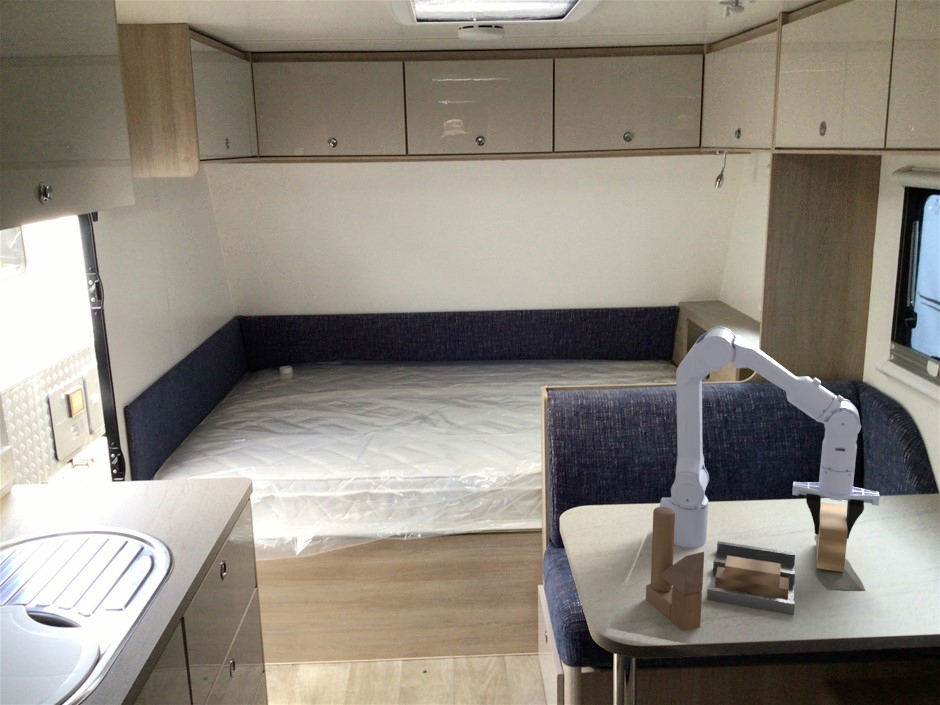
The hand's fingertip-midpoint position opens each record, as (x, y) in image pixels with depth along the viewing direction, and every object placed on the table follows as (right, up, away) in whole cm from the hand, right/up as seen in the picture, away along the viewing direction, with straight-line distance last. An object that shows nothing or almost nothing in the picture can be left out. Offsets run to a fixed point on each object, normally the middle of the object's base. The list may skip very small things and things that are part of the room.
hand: (831, 534), depth 149 cm
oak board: (0, -4, +1) cm, 5 cm away
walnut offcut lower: (-18, -8, -8) cm, 21 cm away
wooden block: (-34, -11, -14) cm, 38 cm away
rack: (-17, -8, -5) cm, 19 cm away
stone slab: (0, -7, +2) cm, 7 cm away
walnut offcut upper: (-18, -6, -9) cm, 21 cm away
